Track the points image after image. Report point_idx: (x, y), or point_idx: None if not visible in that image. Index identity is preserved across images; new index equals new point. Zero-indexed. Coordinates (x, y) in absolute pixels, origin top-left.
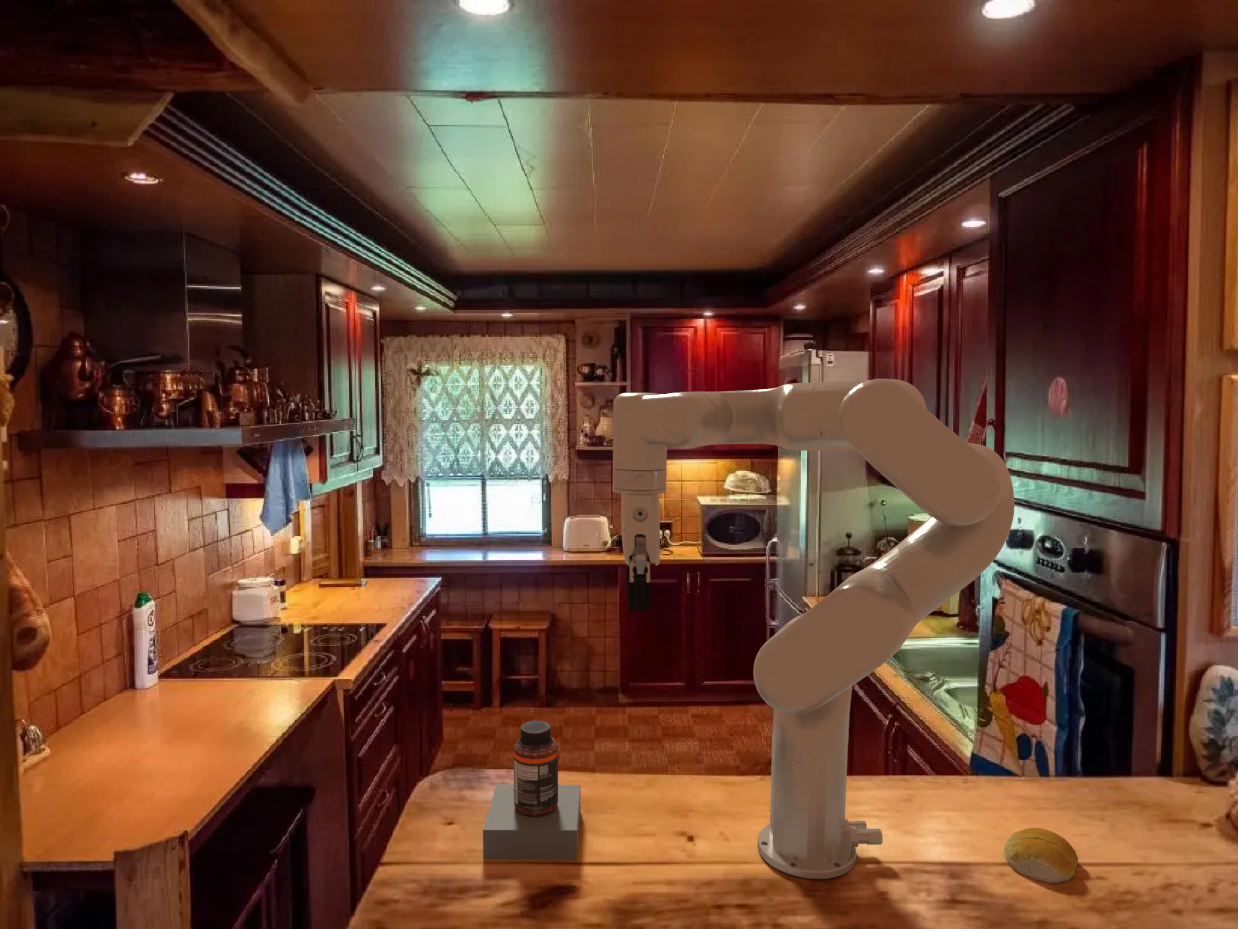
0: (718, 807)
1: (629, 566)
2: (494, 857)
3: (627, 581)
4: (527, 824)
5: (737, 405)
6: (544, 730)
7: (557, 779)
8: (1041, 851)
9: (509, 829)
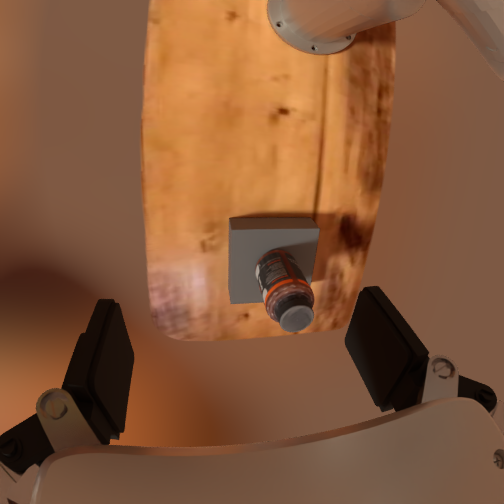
0: (221, 73)
1: (114, 433)
2: None
3: (129, 387)
4: (304, 269)
5: None
6: (310, 310)
7: (285, 263)
8: None
9: (310, 281)
